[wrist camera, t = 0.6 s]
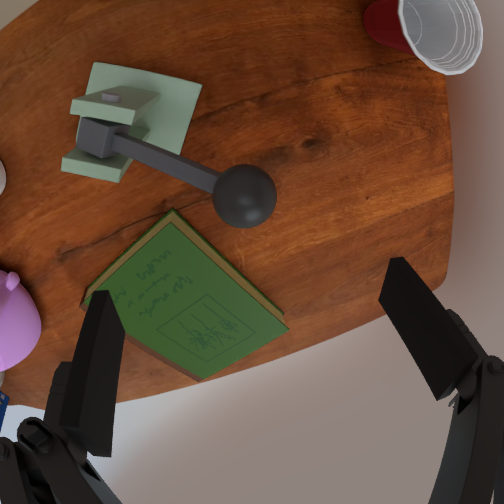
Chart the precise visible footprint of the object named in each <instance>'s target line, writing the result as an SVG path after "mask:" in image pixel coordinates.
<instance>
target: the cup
mask: <svg viewBox="0 0 504 504" xmlns="http://www.w3.org/2000/svg"><path fill="white" fill-rule="evenodd" d="M5 184H6V172H5V169H4V166H3V164H2V162H1V161H0V195H1V193H2V192H3V190H4V188H5Z"/></svg>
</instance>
